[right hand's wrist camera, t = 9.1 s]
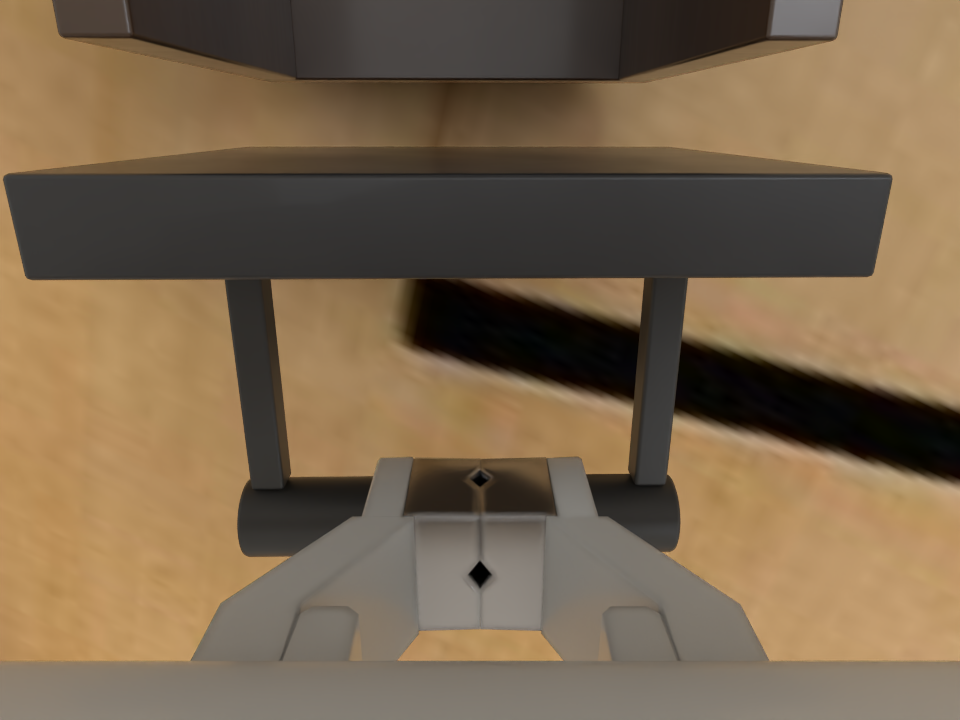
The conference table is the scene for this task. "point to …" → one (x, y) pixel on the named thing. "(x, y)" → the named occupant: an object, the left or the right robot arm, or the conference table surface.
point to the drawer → (447, 198)
